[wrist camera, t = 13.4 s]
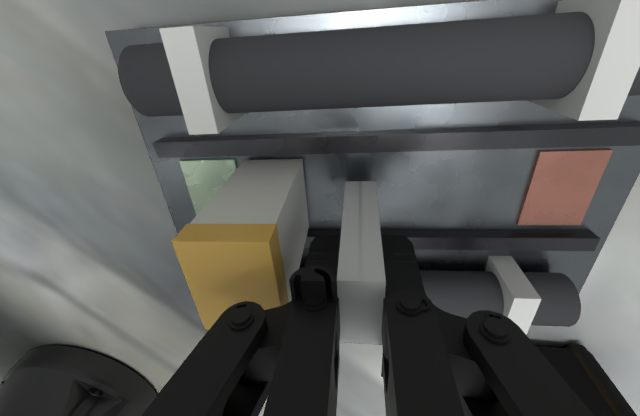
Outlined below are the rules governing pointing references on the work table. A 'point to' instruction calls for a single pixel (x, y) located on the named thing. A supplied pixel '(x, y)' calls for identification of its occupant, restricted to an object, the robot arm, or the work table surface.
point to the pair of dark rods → (409, 98)
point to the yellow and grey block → (246, 239)
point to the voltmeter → (587, 380)
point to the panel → (422, 159)
